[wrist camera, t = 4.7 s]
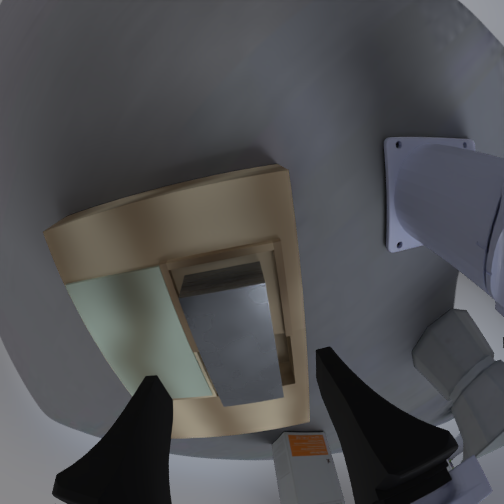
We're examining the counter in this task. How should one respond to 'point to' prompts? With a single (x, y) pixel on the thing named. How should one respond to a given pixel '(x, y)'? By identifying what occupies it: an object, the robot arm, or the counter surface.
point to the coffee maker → (465, 379)
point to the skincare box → (306, 469)
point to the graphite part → (234, 332)
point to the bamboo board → (170, 281)
